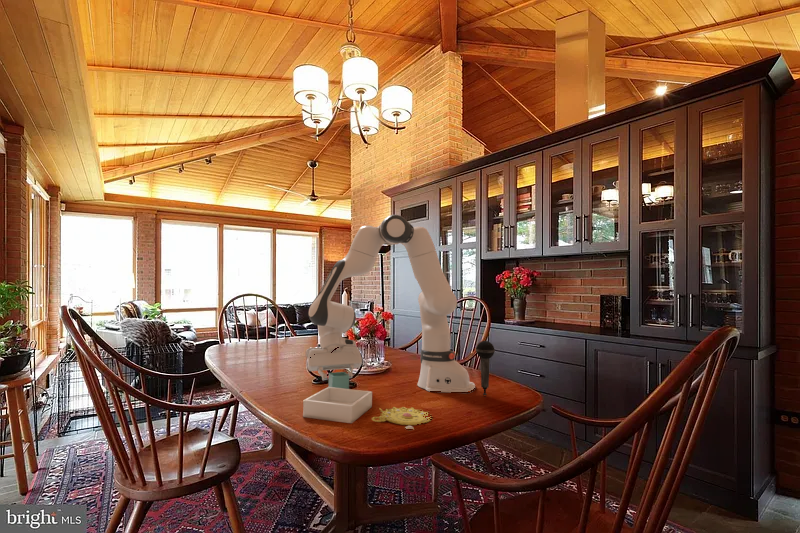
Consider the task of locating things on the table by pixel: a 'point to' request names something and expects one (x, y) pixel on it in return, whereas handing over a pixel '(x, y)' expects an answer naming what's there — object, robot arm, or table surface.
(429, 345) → the robot arm
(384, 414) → the decorative object
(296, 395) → the table surface
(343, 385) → the block
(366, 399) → the white open box
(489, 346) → the microphone
